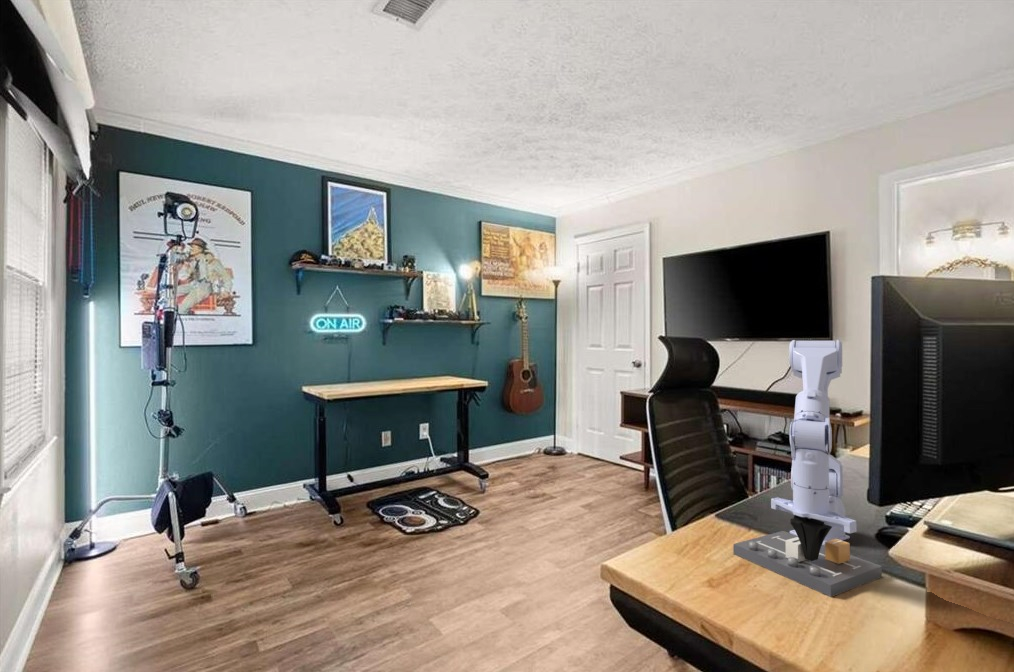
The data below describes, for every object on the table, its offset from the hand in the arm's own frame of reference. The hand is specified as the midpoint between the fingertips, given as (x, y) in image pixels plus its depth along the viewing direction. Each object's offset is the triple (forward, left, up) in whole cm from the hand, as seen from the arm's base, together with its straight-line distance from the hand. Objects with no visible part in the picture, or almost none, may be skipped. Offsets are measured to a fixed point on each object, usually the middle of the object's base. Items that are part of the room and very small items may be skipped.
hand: (811, 558), depth 90 cm
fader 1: (0, -2, -1) cm, 3 cm away
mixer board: (-3, -3, -3) cm, 5 cm away
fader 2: (-6, +1, -1) cm, 6 cm away
